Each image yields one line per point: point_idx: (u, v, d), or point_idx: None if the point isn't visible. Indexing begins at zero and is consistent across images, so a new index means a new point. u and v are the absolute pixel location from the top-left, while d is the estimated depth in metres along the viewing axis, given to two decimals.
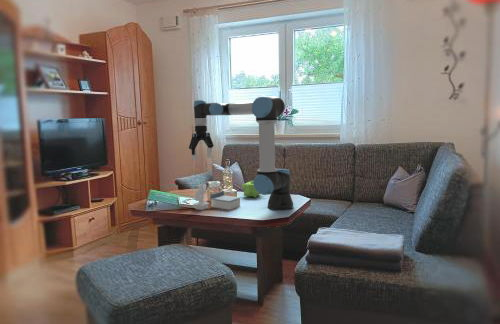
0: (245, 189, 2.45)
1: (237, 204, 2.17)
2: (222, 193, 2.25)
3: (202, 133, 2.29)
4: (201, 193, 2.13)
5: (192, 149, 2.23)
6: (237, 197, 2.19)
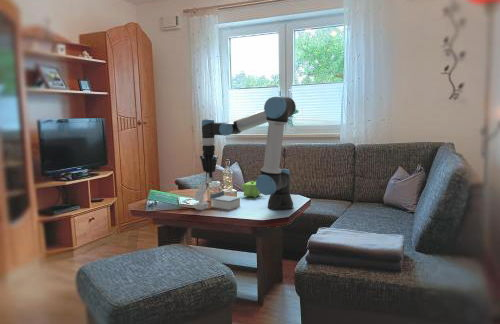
0: (245, 189, 2.45)
1: (237, 204, 2.17)
2: (222, 193, 2.25)
3: (207, 153, 2.22)
4: (201, 193, 2.13)
5: (206, 172, 2.25)
6: (237, 197, 2.19)
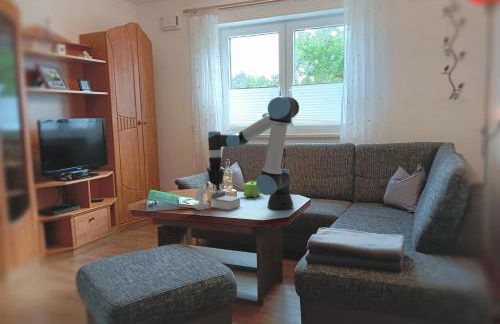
0: (245, 189, 2.45)
1: (237, 204, 2.17)
2: (223, 193, 2.25)
3: (214, 165, 2.19)
4: (201, 193, 2.13)
5: (213, 184, 2.23)
6: (238, 197, 2.18)
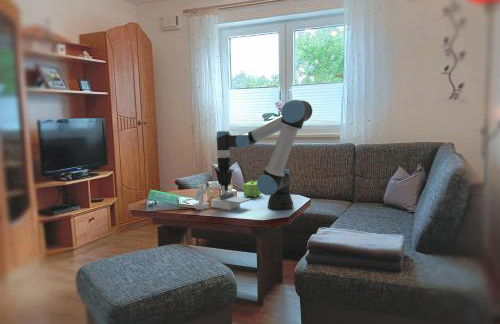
0: (245, 189, 2.45)
1: (237, 204, 2.17)
2: (232, 194, 2.21)
3: (222, 165, 2.16)
4: (201, 193, 2.13)
5: None
6: (247, 198, 2.14)
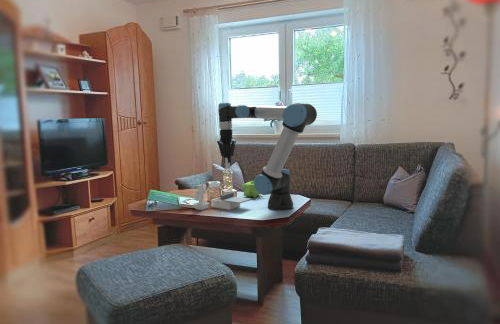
0: (245, 189, 2.45)
1: (237, 204, 2.17)
2: (232, 194, 2.21)
3: (225, 137, 2.17)
4: (201, 193, 2.13)
5: (224, 157, 2.20)
6: (247, 198, 2.14)
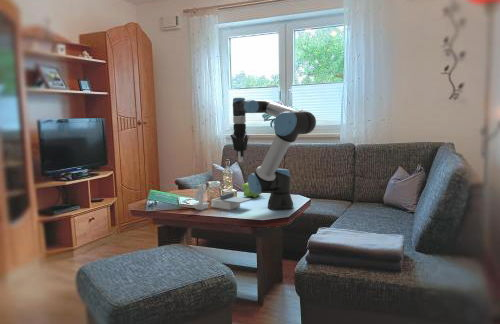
0: (245, 189, 2.45)
1: (237, 204, 2.17)
2: (232, 194, 2.21)
3: (238, 131, 2.21)
4: (201, 193, 2.13)
5: (237, 151, 2.24)
6: (247, 198, 2.14)
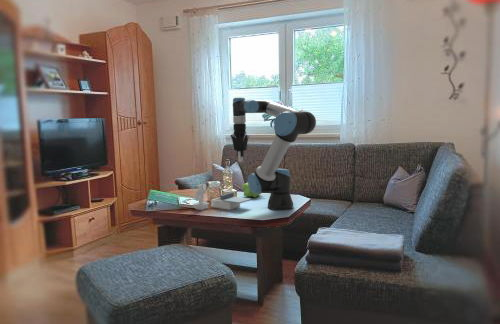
0: (245, 189, 2.45)
1: (237, 204, 2.17)
2: (232, 194, 2.21)
3: (238, 131, 2.21)
4: (201, 193, 2.13)
5: (237, 150, 2.24)
6: (247, 198, 2.14)
